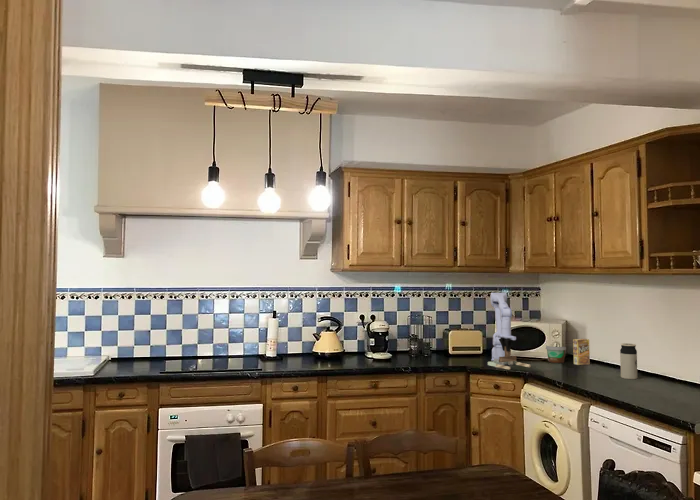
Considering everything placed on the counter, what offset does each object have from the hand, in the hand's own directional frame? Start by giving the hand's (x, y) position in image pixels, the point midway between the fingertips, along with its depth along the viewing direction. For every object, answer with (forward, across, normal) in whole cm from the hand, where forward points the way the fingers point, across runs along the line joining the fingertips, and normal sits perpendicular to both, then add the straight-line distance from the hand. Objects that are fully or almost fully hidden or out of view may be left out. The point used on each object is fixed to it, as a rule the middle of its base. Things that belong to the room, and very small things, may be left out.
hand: (506, 350), depth 340 cm
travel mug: (+9, +61, +29) cm, 68 cm away
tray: (+9, -3, 0) cm, 10 cm away
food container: (+9, +6, +35) cm, 37 cm away
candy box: (+9, +19, +43) cm, 48 cm away
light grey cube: (+9, -3, -3) cm, 10 cm away
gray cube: (+9, -3, +4) cm, 10 cm away
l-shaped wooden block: (+6, 0, +1) cm, 7 cm away
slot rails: (+9, +6, 0) cm, 11 cm away
